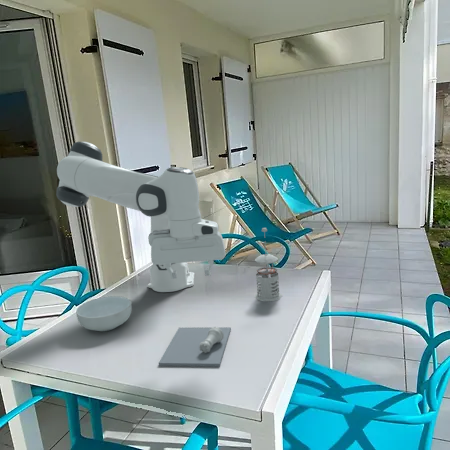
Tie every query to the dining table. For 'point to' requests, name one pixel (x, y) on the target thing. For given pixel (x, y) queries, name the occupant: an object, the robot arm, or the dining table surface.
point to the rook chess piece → (211, 339)
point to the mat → (194, 348)
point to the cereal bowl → (104, 313)
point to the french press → (267, 278)
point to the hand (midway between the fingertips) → (190, 276)
